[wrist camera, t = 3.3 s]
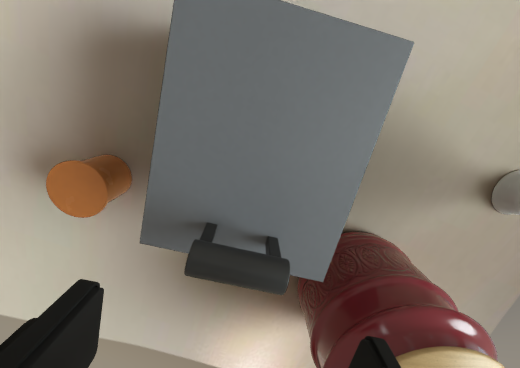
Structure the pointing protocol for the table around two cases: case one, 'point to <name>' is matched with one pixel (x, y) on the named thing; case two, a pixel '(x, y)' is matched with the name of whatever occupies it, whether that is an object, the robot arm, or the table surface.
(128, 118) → the table surface
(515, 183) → the chalice
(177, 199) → the lid
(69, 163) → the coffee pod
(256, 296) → the table surface
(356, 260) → the kitchen canister
